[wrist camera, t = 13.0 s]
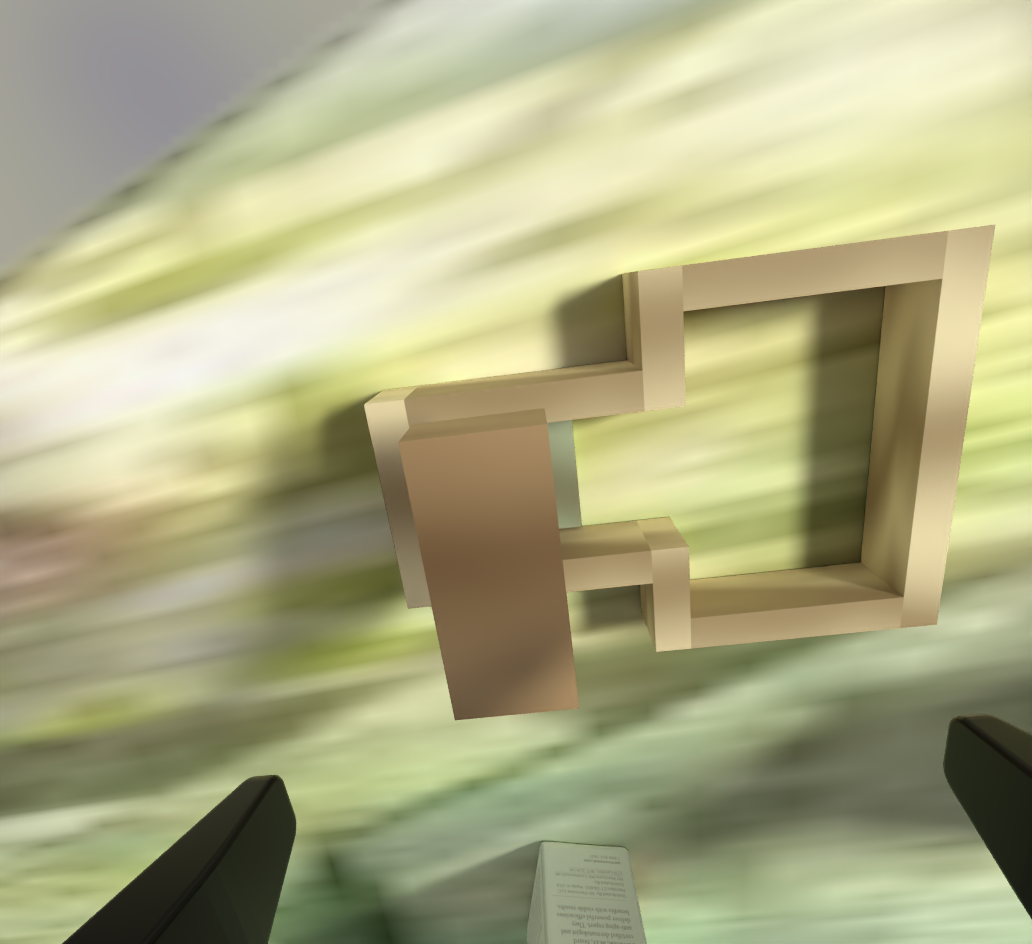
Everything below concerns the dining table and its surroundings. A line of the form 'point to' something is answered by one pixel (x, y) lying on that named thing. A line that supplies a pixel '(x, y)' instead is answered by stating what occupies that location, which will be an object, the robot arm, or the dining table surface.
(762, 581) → the keyhole cradle
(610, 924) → the skincare box
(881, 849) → the dining table surface
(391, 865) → the dining table surface
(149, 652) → the dining table surface
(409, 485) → the tan brick
